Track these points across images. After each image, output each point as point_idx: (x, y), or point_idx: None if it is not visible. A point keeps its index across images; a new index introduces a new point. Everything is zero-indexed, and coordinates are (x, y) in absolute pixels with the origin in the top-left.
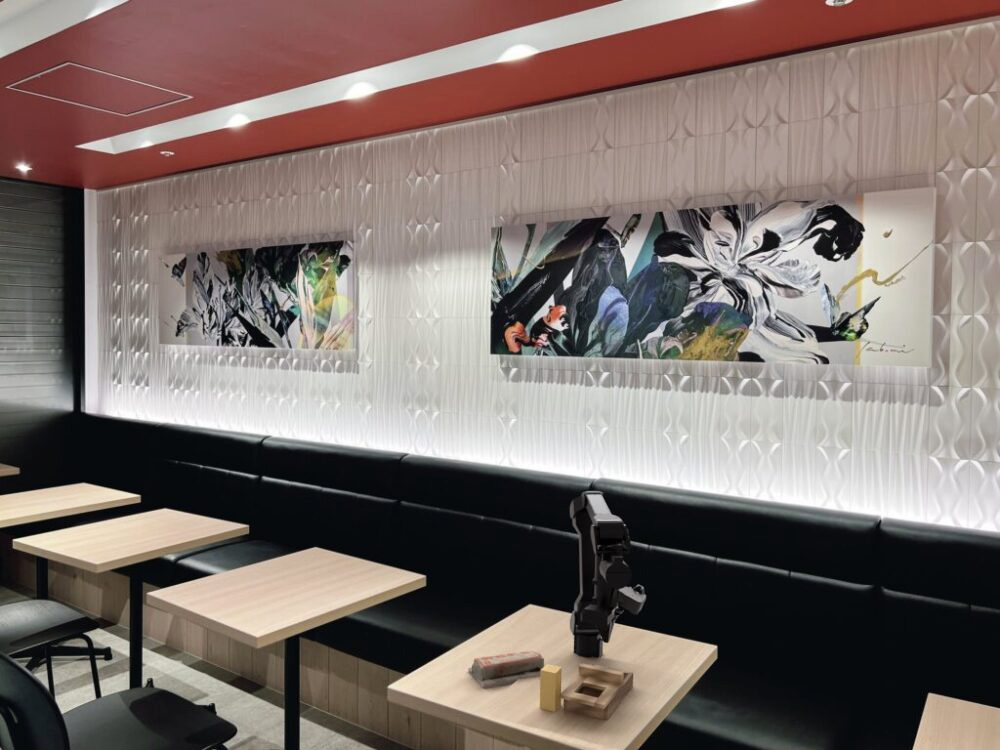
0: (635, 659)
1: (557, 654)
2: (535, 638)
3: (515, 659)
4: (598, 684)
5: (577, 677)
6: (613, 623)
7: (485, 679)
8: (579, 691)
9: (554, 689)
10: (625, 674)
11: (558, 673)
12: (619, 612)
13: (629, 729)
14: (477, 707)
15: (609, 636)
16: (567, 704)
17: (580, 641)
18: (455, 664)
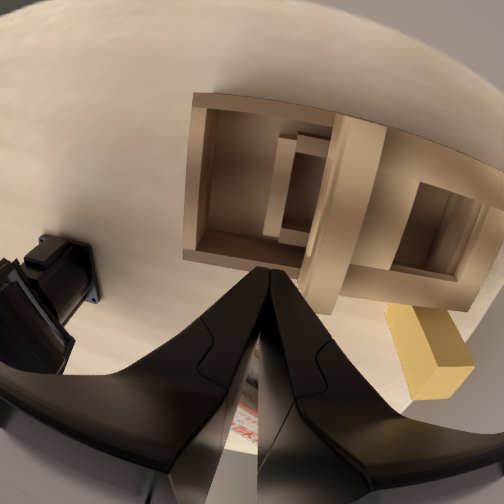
0: (27, 148)
1: (104, 326)
2: (74, 361)
3: (252, 416)
4: (399, 215)
5: (354, 292)
6: (213, 353)
7: None
8: None
9: (457, 332)
10: (206, 122)
11: (455, 358)
12: (123, 472)
13: (475, 93)
14: (399, 398)
15: (283, 292)
16: None
17: (69, 309)
18: (245, 442)
